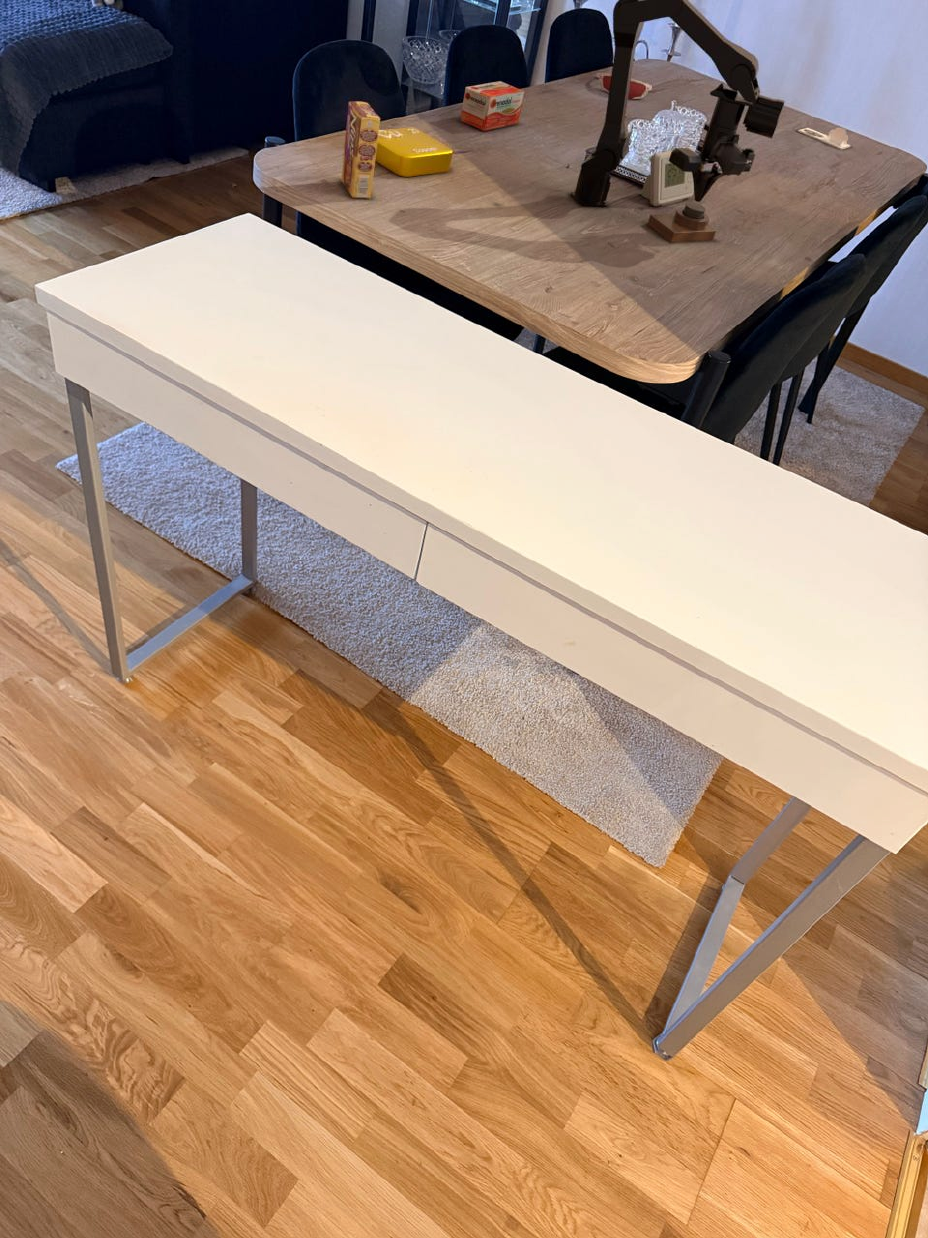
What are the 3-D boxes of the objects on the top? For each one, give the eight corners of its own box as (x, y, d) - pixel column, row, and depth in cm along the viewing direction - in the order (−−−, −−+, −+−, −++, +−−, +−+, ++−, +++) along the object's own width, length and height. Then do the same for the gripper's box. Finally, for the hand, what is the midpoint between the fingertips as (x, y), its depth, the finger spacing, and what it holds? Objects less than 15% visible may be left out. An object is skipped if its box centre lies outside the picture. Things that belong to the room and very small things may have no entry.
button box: (670, 242, 198) (677, 223, 195) (647, 224, 203) (652, 206, 200) (712, 240, 203) (719, 222, 200) (688, 222, 208) (694, 204, 205)
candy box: (372, 199, 186) (381, 117, 175) (352, 198, 184) (359, 116, 174) (360, 181, 191) (368, 101, 181) (340, 180, 190) (347, 99, 179)
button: (690, 220, 199) (694, 210, 198) (678, 211, 202) (682, 202, 200) (706, 219, 201) (709, 210, 200) (694, 211, 204) (697, 201, 202)
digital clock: (651, 208, 210) (667, 160, 203) (626, 192, 215) (640, 144, 208) (700, 204, 218) (717, 157, 211) (675, 189, 223) (690, 142, 216)
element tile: (401, 178, 196) (404, 154, 193) (359, 151, 203) (361, 128, 200) (453, 171, 205) (457, 148, 201) (411, 146, 212) (414, 123, 208)
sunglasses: (593, 89, 272) (597, 70, 269) (593, 86, 286) (597, 67, 284) (649, 103, 272) (654, 84, 270) (647, 99, 286) (652, 81, 284)
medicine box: (494, 113, 240) (500, 79, 234) (518, 124, 237) (525, 90, 232) (458, 121, 230) (464, 86, 225) (484, 132, 228) (490, 97, 222)
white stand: (849, 146, 279) (856, 131, 276) (840, 149, 275) (847, 133, 272) (807, 128, 285) (813, 113, 282) (797, 131, 281) (803, 115, 278)
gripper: (713, 138, 180) (686, 218, 190) (782, 139, 188) (752, 215, 199) (680, 117, 186) (655, 195, 197) (748, 119, 194) (720, 194, 205)
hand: (697, 200), depth 199 cm, fingers closed
